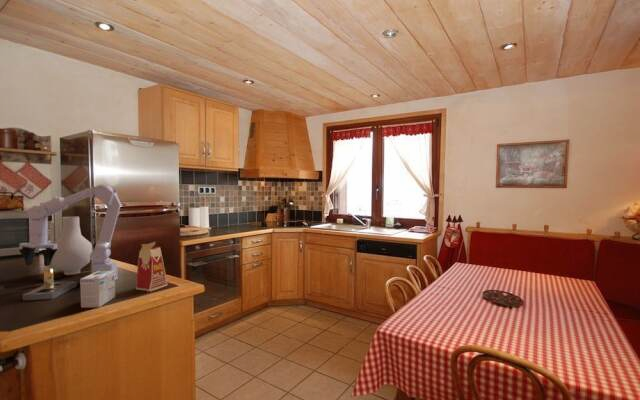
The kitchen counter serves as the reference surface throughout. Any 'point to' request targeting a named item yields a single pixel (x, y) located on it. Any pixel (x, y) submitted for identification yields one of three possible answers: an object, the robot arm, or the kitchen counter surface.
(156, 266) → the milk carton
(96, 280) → the light bulb box
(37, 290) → the manifold plate
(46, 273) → the brass nipple
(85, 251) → the vase
